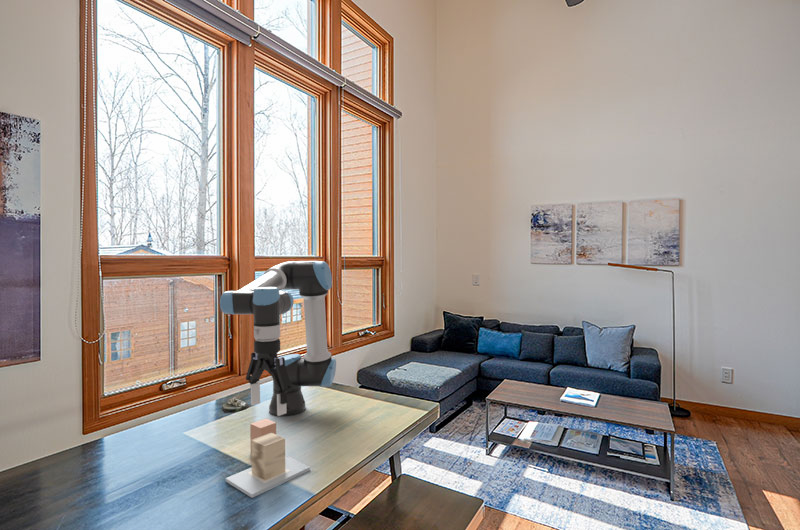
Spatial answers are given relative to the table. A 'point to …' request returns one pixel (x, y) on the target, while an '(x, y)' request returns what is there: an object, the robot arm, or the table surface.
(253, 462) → the beech block
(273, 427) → the terracotta block
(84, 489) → the table surface
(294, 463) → the white flat board
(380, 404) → the table surface
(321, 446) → the table surface
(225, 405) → the grey lumpy mound
